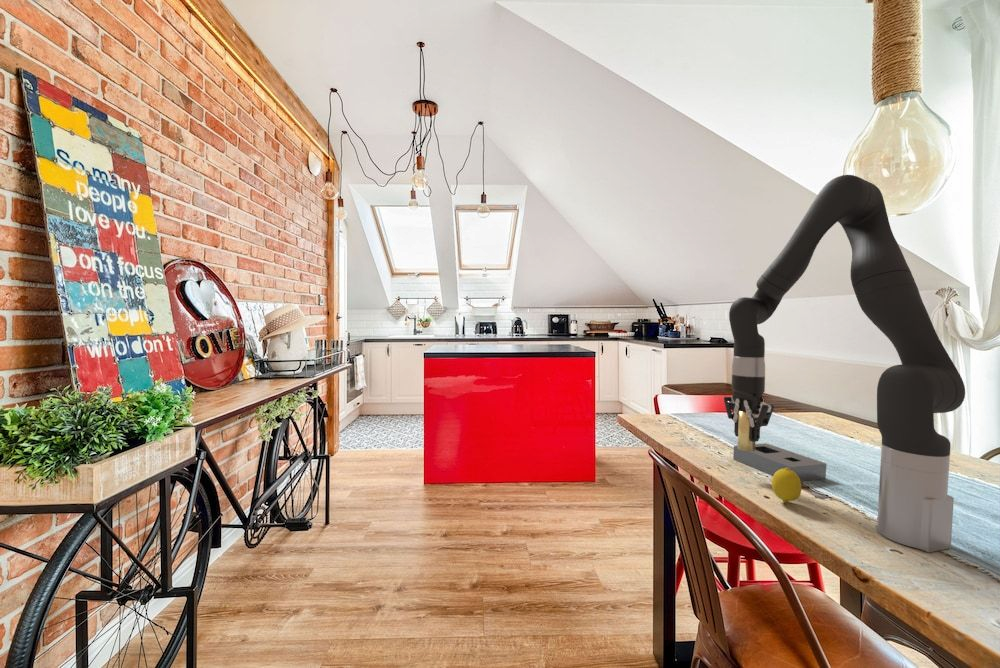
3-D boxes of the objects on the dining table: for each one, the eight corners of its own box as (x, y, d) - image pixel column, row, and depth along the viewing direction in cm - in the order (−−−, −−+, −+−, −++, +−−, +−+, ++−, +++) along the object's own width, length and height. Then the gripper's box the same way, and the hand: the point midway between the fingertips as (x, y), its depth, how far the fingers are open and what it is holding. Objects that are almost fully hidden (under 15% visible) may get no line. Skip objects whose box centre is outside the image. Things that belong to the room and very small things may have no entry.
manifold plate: (733, 459, 125) (733, 445, 124) (765, 456, 128) (766, 443, 128) (789, 482, 107) (790, 467, 107) (825, 478, 111) (826, 463, 110)
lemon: (791, 498, 98) (792, 464, 98) (806, 509, 92) (807, 472, 92) (766, 496, 98) (767, 462, 98) (779, 507, 93) (781, 471, 93)
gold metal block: (758, 450, 110) (759, 412, 110) (746, 451, 109) (747, 413, 109) (746, 446, 114) (747, 409, 114) (734, 447, 113) (735, 410, 113)
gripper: (784, 376, 105) (782, 445, 106) (737, 370, 119) (736, 431, 119) (760, 377, 103) (758, 447, 103) (715, 371, 117) (714, 433, 117)
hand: (746, 438), depth 111 cm, fingers closed on gold metal block, 4 cm apart
